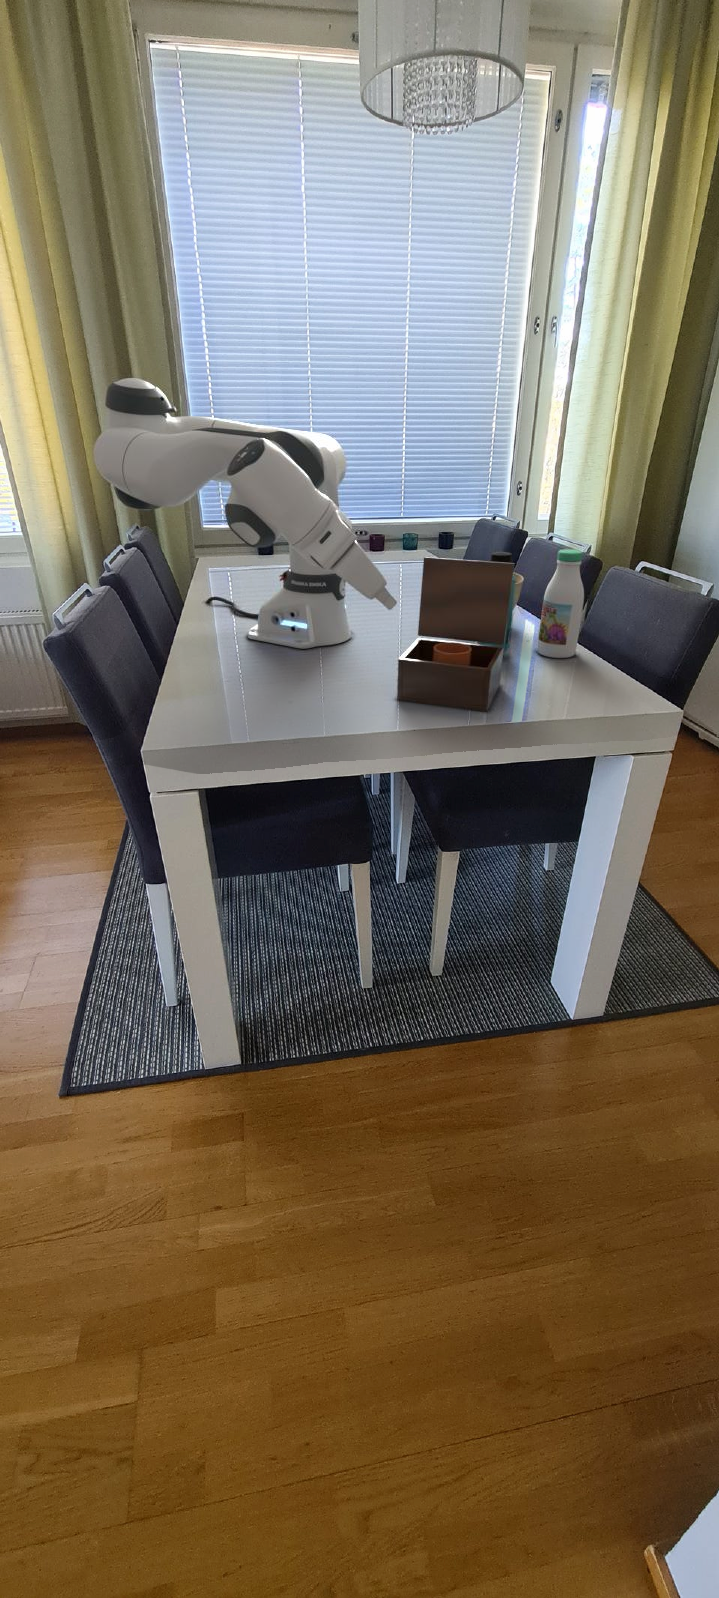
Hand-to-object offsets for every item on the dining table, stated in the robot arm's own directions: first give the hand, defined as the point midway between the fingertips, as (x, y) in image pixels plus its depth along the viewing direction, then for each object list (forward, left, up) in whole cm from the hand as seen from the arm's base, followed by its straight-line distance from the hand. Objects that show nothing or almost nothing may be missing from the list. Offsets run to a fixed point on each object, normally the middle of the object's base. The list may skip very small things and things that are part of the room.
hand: (385, 598), depth 111 cm
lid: (+10, +14, -3) cm, 17 cm away
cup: (+10, +6, -17) cm, 20 cm away
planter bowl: (+8, +51, -18) cm, 54 cm away
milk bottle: (+26, +36, -18) cm, 47 cm away
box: (+10, +7, -17) cm, 21 cm away
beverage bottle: (+14, +30, -18) cm, 37 cm away
